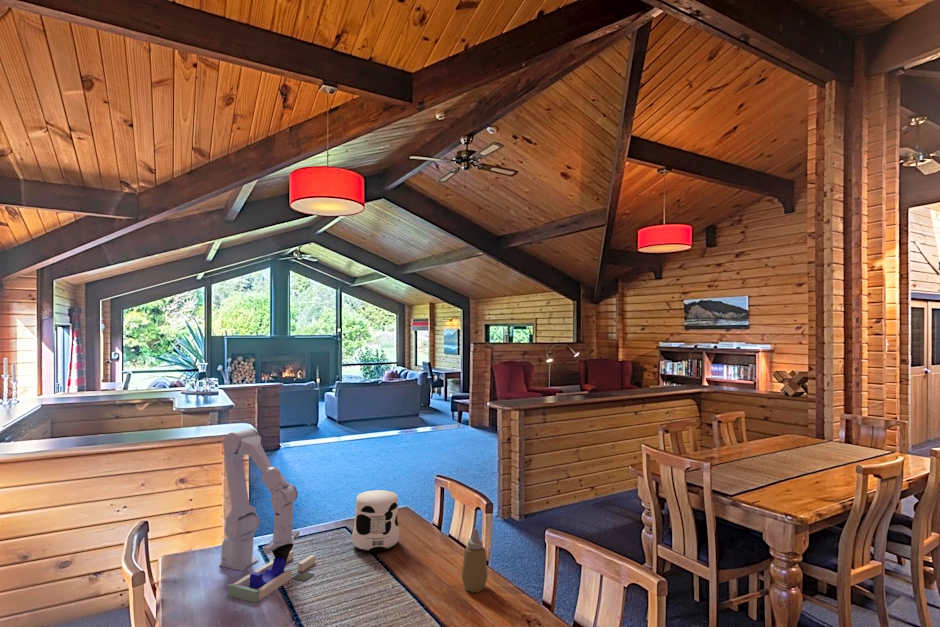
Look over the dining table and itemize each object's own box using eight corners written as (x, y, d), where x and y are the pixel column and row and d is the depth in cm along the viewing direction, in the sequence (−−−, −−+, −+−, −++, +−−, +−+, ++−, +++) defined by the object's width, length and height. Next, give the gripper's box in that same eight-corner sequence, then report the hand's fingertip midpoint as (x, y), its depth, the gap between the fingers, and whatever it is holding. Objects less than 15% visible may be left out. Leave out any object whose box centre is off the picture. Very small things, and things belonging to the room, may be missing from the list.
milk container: (376, 532, 193) (377, 486, 194) (408, 544, 183) (410, 495, 184) (341, 547, 179) (343, 497, 180) (374, 560, 169) (376, 507, 170)
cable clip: (271, 575, 156) (272, 556, 157) (283, 577, 155) (284, 558, 155) (244, 593, 145) (246, 573, 145) (257, 596, 144) (258, 575, 144)
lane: (227, 595, 144) (227, 585, 144) (289, 557, 169) (289, 548, 169) (256, 602, 140) (256, 591, 140) (315, 562, 166) (315, 553, 166)
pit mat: (291, 578, 155) (291, 578, 155) (301, 571, 159) (301, 571, 159) (304, 581, 153) (304, 581, 153) (314, 574, 158) (314, 573, 158)
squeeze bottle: (490, 584, 154) (491, 526, 155) (482, 597, 146) (484, 536, 148) (466, 580, 157) (467, 522, 158) (457, 592, 149) (459, 531, 150)
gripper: (277, 534, 150) (275, 580, 149) (307, 519, 164) (305, 560, 163) (259, 531, 153) (256, 576, 152) (290, 516, 166) (288, 557, 165)
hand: (281, 567), depth 158 cm, fingers closed
